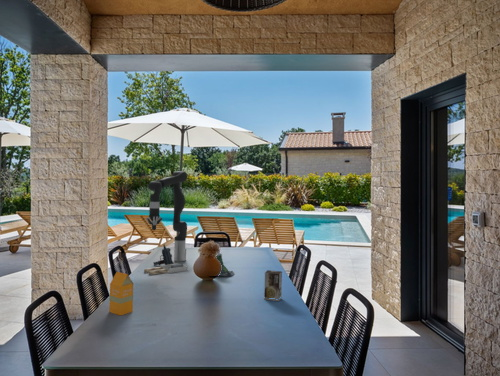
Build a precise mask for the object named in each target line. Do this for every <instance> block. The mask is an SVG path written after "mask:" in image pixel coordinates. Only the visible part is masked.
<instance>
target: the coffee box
mask: <svg viewBox="0 0 500 376" xmlns="http://www.w3.org/2000/svg"><path fill="white" fill-rule="evenodd" d="M282 281H283V272H282V271H278V270H269V269H268V270H266V271H265V272H264V293H263V295H264V297H265V298H264V297H263V298H264V300H266V301H274V302H280V301H281V300H282V284H283V282H282ZM280 297H281V298H280ZM269 298H275V299H269ZM279 298H280V299H279ZM276 299H279V300H276Z"/></svg>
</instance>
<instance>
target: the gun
mask: <svg viewBox="0 0 500 376" xmlns="http://www.w3.org/2000/svg"><path fill="white" fill-rule="evenodd" d="M173 261H174V260H173V255H172V254H171V248H170V247H167V246H166V244H165V243H164V244H163V248H162V250H161V255H160V256H159V260H158V261H153V266H155V267H156V266H161V265H168V264H175V263H174V262H173Z"/></svg>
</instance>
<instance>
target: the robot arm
mask: <svg viewBox="0 0 500 376" xmlns="http://www.w3.org/2000/svg"><path fill="white" fill-rule="evenodd" d="M187 179H188V174H187V172H186V171H184V170H183V171H181V170H177V171H176V170H175V171H174V172H173V174H172V176H167V177H164V178H161V179H158V180H157V179H156V180H152V181H150V182H149V183H148V185H147V187H148V189H149V190H150V191H153V193H151V194H150V195H149V211H148V212H149V215H148V217H146V218H145V220H146V221H147V223H148V224H149V225H151V230H152V231H156V230H157V225H159V224H160V223H161V221H162V220H163V217H161V216H160V210H161V209H160V207H161V206H160V204H161V203H160V196H161V192H162V189H164V188H166V187H169V186H172V185H173V186H172V187H173V220H172V230H173V231H174V232H178V235H176V236H174V243H173V244H174V246H173V247H174V249H173V261H174V262H184V261H187V248H186V242H187V241H186V238H187V233H188V223H187V222H186V221H182V220H181V214H182V212H183V210H184V208H185V205H186V198H185V195H184V193H183V191H182V189H181V183H185V182H186V181H187Z"/></svg>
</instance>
